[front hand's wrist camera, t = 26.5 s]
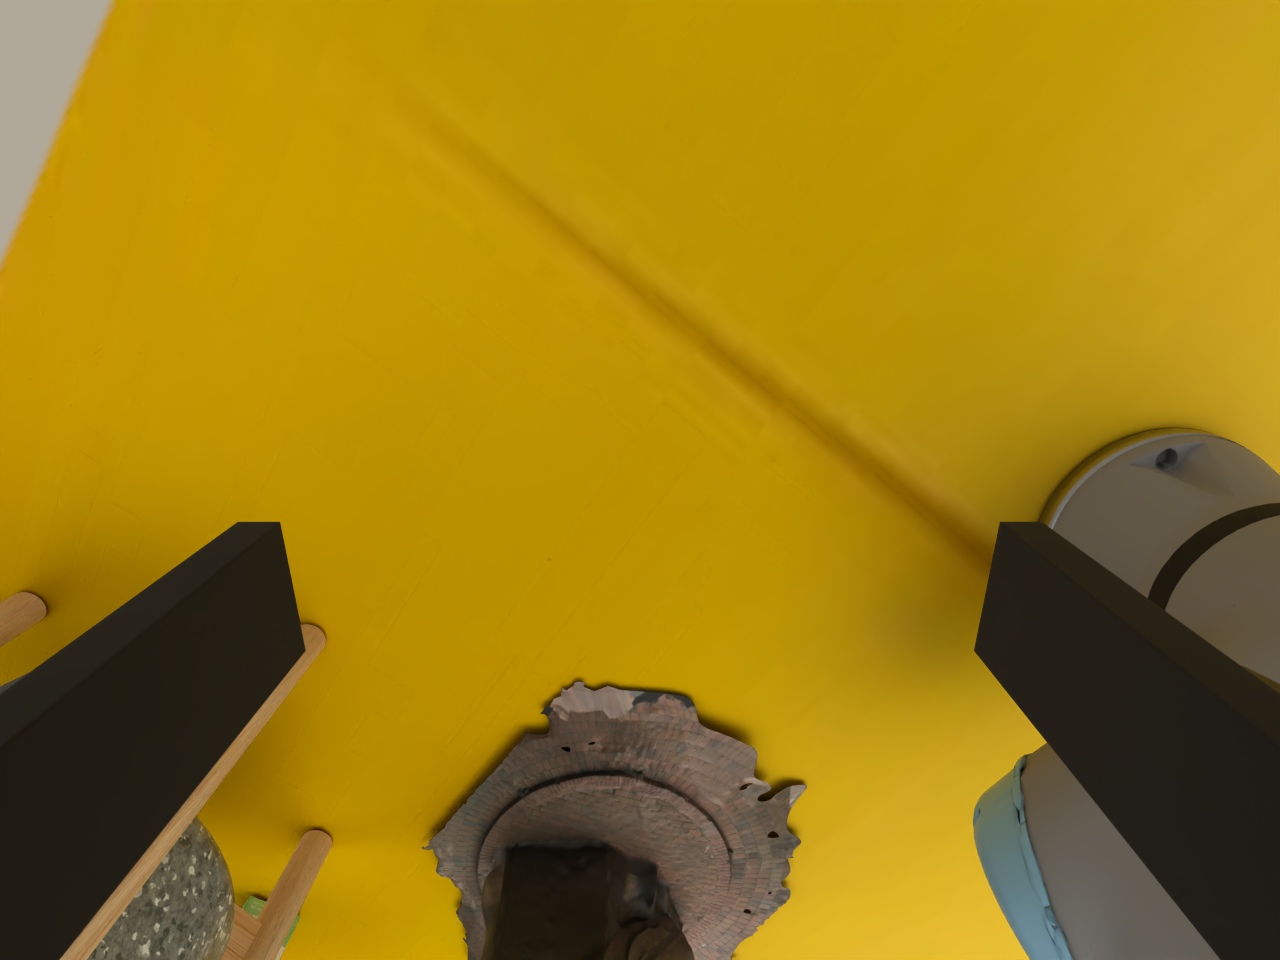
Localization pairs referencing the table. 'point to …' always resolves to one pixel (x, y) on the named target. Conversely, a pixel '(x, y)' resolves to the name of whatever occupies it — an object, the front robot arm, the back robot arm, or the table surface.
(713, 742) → the sculpture
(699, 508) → the table surface
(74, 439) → the table surface
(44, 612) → the planter
